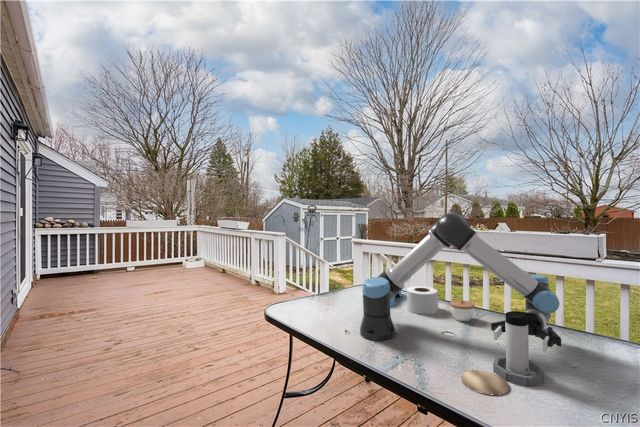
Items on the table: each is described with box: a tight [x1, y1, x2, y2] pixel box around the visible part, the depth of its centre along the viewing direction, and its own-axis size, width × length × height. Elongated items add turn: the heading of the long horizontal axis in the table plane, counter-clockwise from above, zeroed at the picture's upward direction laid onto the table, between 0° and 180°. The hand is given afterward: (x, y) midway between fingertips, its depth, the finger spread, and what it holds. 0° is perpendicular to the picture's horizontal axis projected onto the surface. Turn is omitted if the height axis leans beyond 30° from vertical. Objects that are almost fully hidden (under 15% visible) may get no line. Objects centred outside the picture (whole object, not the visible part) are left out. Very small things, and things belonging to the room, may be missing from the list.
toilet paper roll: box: [406, 285, 439, 316], centre depth 166 cm, size 16×15×11 cm
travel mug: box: [505, 310, 530, 376], centre depth 101 cm, size 6×7×20 cm
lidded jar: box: [449, 299, 475, 322], centre depth 150 cm, size 11×11×9 cm
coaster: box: [460, 369, 510, 396], centre depth 97 cm, size 13×13×1 cm
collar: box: [492, 355, 545, 387], centre depth 102 cm, size 14×14×2 cm
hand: (518, 341), depth 101 cm, fingers open, 13 cm apart
